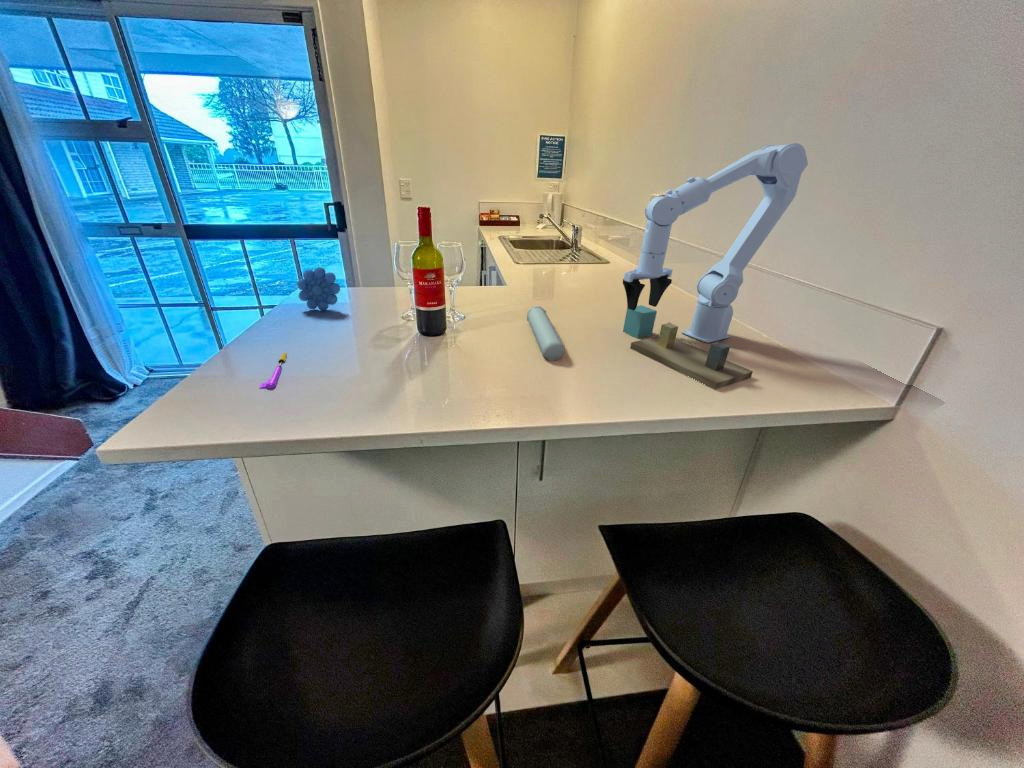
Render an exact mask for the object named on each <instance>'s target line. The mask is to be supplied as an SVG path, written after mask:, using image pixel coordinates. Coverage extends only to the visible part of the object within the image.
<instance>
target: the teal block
mask: <svg viewBox="0 0 1024 768" xmlns="http://www.w3.org/2000/svg"><path fill="white" fill-rule="evenodd" d="M657 312H658V311H657V310H655V309H653V308H651V307H648V306H645V305H642V304H641V305H637V307H636V309H635V310H631V309H628V307H626V313H625V316H624V317H625V318H624V323H623V328H622V329H623V330H622V332H623V333H624V332H625V334H626V335H629V336H630V337H631V336H632V337H633V338H636V339H640V338H646V337H651V336H653V335H652V334H653V329H654V326H655V321H656V317H657Z"/></svg>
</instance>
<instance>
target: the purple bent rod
mask: <svg viewBox="0 0 1024 768" xmlns="http://www.w3.org/2000/svg"><path fill="white" fill-rule="evenodd" d="M287 357H288V353H287V352H283V353H282V354H281V356H280V357H279V359H278V363H279V365H277V366H276V367H275V369H274V371H273V374H272V376H271V378H269V379H268V380H267V381H265V382H263V383H261V384H260V386H259V387H258V389H270V390H272V389H273V390H274V388H276V386H277V383H278V380H279V376H280V375H281V372H282V363H286V359H287Z"/></svg>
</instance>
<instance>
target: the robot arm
mask: <svg viewBox="0 0 1024 768" xmlns="http://www.w3.org/2000/svg"><path fill="white" fill-rule="evenodd" d="M808 165H809V162H808V157H807V152H806V149H805V147H804V146H803V145H802V144H800V143H799V142H798V143H797V142H791V143H788V144H787V143H786V144H779V145H774V144H773V145H772V144H768V145H766V146H763V147H762V148H760V149H757V150H754V151H752V152H749V153H748V154H747V155H745V156H743V157H741V158H740V159H737V160H736V161H734V162H733V163H731V164H730V165H727V166H726V167H724V168H723V169H720V170H719V171H718V172H715V173H714V174H713V175H711V176H708V177H707V178H704V177H701V176H697V177H694V176H690V177H689V178H687V179H686V183H684V184H681V185H679V186H678V187H676V188H674V189H668V190H666V191H665V195H664V196H656V197H654V198H653V199H651V200H650V201H649V203H648V204H647V206H646V207H645V209H644V215H645V218H646V225H645V229H644V233H643V239H642V244H641V249H640V256H639V259H638V264H637V266H636V267H634V268H635V269H632V270H630V271H625V272H624V276H623V279H622V285H623V288H624V290H625V295H626V305H627V306H626V308H628V309H631V310H635V309H636V307H637V306H638V304H639V299H640V297H641V293H642V292H643V290H644V288H645V286H646V284H644V283H641V281H642V280H643V281H644V280H649V286H650V287H649V288H650V289H649V295H648V297H649V298H648V306H651V307H654V308H655V307H657V306H658V305H659V302H660V300H661V298H662V297H663V294H664V293H665V291H666V290H667V289H668V288H669V286H670V285H671V284H672V281H673V280H672V279H671V278H672V275H673V271H674V270H673V269H672V268H669V267H664V264H665V259H666V254H667V249H668V246H669V241H670V240H669V239H670V238H671V237H670V236H671V230H672V225H673V224H674V223H675V222H676V221H677V219H678V218H679V216H682V215H684V214H686V213H688V212H690V211H691V210H693V209H697V207H699V206H701V205H703V204H705V203H707V202H708V201H709V199H710V198H711V195H712V194H713V193H715V192H717V191H718V190H720V189H723V188H725V187H727V186H729V185H731V184H733V183H735V182H738V181H740V180H741V179H744V178H746V177H748V176H755V177H756V178H757V180H758V182H759V183H760V184H761V186H762V190H763V198H762V200H761V201H760V203H759V205H758V206H757V207H756V209H755V210H754V212H753V213H752V215H751V216H750V218H749V220H748V221H747V223H746V224H745V225H744V227H743V228H742V230H741V231H740V232H739V235H738V236H737V237H736V239H735V241H733V243H732V244H731V246H730V247H729V248H728V250H727V252H726V253H725V255H724V257H723V258H722V259H721V260H720V261H719V262H717V263H715V264H713V265H712V266H711V268H710V269H709V270H708V271H707V272H706V273H705V274H703V275H702V276H701V277H700V278H699V279H698V281H697V284H696V291H697V293H698V294H699V295H698V299H697V302H696V305H695V310H694V313H693V317H692V320H691V324H690V327H689V329H686V330H682V331H681V334H683V335H686V336H687V337H691V338H693V339H696V340H698V341H701V342H703V343H706V344H709V343H713V342H717V341H718V342H719V341H720V340H725V339H729V338H730V335H729V334H728V332H729V328H730V325H731V323H732V319H733V316H734V308H733V306H732V305H731V304H732V303H733V302H734V301H735V300H736V298H737V297H738V295H739V290H740V287H741V286H742V285H743V283H744V273H743V272H744V270H745V269H746V267H747V266H748V264H749V263H750V261H751V260H752V259H753V257H754V256H755V254H756V253H757V251H758V250H759V248H760V247H761V246H762V245H763V243H764V241H765V240H766V239H767V238H768V236H769V234H770V233H771V231H772V230H773V229H774V227H776V225H777V223H778V222H779V220H780V219H781V218H782V216H783V215H784V214H785V212H786V211H787V209H788V208H789V206H790V205H791V203H792V202H793V201H794V199H795V196H796V195H797V190H798V187H799V183H800V180H801V178H802V177H801V175H802V173H804V171H805V169H806V168H807V167H808Z"/></svg>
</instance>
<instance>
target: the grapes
mask: <svg viewBox="0 0 1024 768" xmlns="http://www.w3.org/2000/svg"><path fill="white" fill-rule="evenodd" d="M302 277H303V278H300V279H298V281H297V283H296V284H297V285H296V287H297V288H298V289H299V290H300V292H299V293H298V298H299V300H300V301H302V302H306V307H307V308H308V309H310V310H315V309H319V310H320V311H324V312H325V311H327V310H328V309H329V306H333V305H336V303H337V302H338V297H337V294H339V293H340V292H341V286H340V284H339V283H337V282H335V281H336V275H335V273H333V272H330V271H328V272H326V270H325V268H324V267H322V266H317V267H315V269H314V270H313V269H306V270H305V271H304V272H303V273H302Z"/></svg>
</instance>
